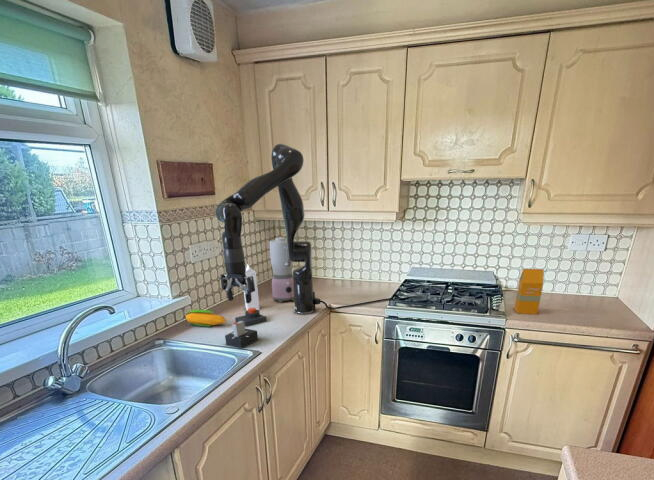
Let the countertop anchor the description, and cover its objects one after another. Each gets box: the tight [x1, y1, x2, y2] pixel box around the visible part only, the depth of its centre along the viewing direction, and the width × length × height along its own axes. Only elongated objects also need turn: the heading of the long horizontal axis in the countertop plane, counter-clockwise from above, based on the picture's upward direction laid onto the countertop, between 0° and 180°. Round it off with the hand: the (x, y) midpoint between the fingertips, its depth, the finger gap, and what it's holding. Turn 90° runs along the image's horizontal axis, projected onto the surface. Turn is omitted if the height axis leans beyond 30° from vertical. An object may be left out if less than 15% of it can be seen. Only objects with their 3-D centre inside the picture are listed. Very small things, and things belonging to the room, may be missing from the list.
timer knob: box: [232, 321, 246, 337], centre depth 159 cm, size 5×2×5 cm, turn 152°
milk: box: [243, 263, 261, 311], centre depth 200 cm, size 6×6×22 cm
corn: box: [185, 308, 227, 328], centre depth 181 cm, size 7×8×20 cm
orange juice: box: [513, 268, 544, 315], centre depth 190 cm, size 8×9×20 cm
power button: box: [248, 308, 256, 313], centre depth 187 cm, size 4×4×2 cm
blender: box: [269, 236, 294, 304], centre depth 211 cm, size 16×12×32 cm
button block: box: [234, 310, 267, 328], centre depth 186 cm, size 11×9×4 cm
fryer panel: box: [224, 328, 259, 349], centre depth 162 cm, size 11×9×4 cm
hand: (239, 301), depth 160 cm, fingers open, 8 cm apart
